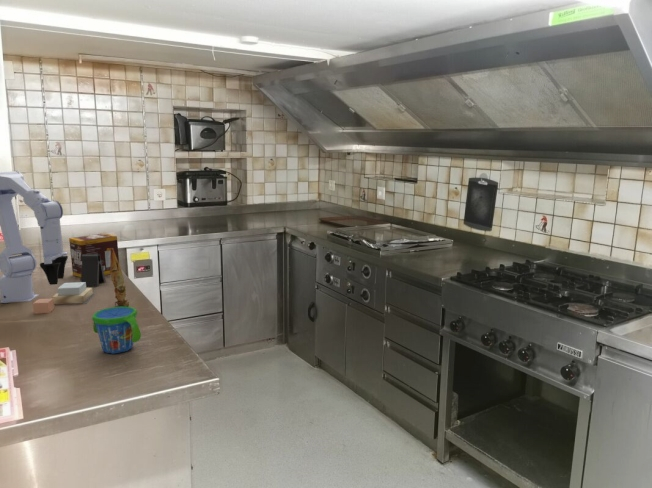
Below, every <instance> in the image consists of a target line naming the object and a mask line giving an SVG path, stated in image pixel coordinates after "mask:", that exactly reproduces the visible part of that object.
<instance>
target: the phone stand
mask: <svg viewBox="0 0 652 488" xmlns="http://www.w3.org/2000/svg"><path fill="white" fill-rule="evenodd" d="M81 259H82V272H81V278H80V282H86V288H97V287H99V285H100V284H101V285H102V284H105V283H107V280H106V275H104V272H103V268H102V264H101V256H100V254H83V255H82V257H81Z"/></svg>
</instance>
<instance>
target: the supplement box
mask: <svg viewBox="0 0 652 488" xmlns="http://www.w3.org/2000/svg"><path fill="white" fill-rule="evenodd" d="M68 241H69V249H70V260H71V269H72V276H76V277H78V278H80V279H81V272H82V259H81V257H82V255H83V254H100V256H101V264H102V268H103V272H104V276H107V275H110V264H111V258H110V255H111V248H113V249H114V252H115V255H116V258H117V260H118V262H119V263H120V258H119V256H120V255H119V246H118V245H119V244H118V236H117V235H114V234H109V233H104V232H103V233H98V234H92V235H91V234H90V235H84V236H77V237H69V240H68Z"/></svg>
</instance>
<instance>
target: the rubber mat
mask: <svg viewBox="0 0 652 488" xmlns="http://www.w3.org/2000/svg"><path fill="white" fill-rule="evenodd" d="M96 295H97V293H93V295H92V296H91V297H90V298H89V299H88V300H87V301H85V302H84V303H71V304H54V306H64V305H67V306H68V305H87V304H88V303H89V301H91V299H92V298H93V297H95V296H96Z"/></svg>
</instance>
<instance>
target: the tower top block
mask: <svg viewBox="0 0 652 488" xmlns="http://www.w3.org/2000/svg"><path fill="white" fill-rule="evenodd" d="M86 288H87V287H86V282H81V281H80V282H64V283H63V284H61V285H60V286H59V287H57V293H58V296H60V295H80V294H81V293H82V292H84V291H85V290H86Z"/></svg>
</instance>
